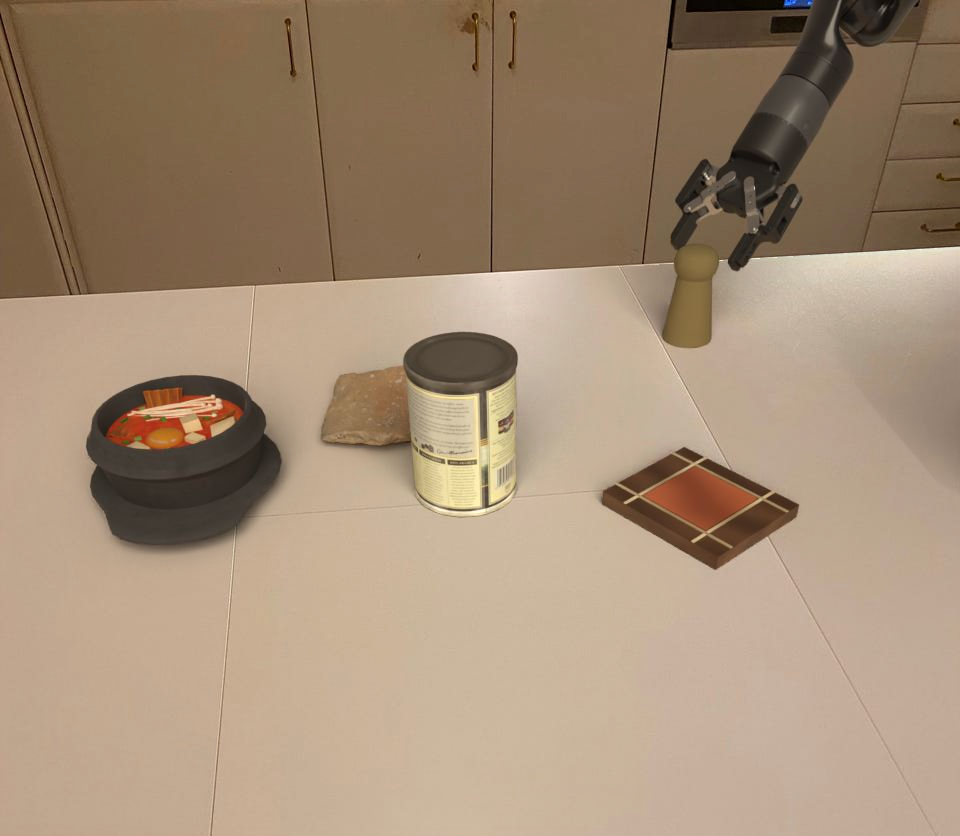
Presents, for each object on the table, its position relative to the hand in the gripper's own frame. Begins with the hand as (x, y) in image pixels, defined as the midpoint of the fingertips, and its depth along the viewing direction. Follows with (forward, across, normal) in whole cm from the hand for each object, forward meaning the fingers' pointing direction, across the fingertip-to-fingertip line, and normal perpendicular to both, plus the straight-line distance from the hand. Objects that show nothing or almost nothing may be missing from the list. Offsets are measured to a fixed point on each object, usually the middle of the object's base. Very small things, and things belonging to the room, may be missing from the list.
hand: (702, 257), depth 116 cm
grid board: (+27, -25, +14) cm, 39 cm away
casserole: (+52, +12, +38) cm, 65 cm away
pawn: (+8, 0, -6) cm, 10 cm away
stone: (+36, +10, +22) cm, 43 cm away
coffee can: (+37, -7, +24) cm, 45 cm away
